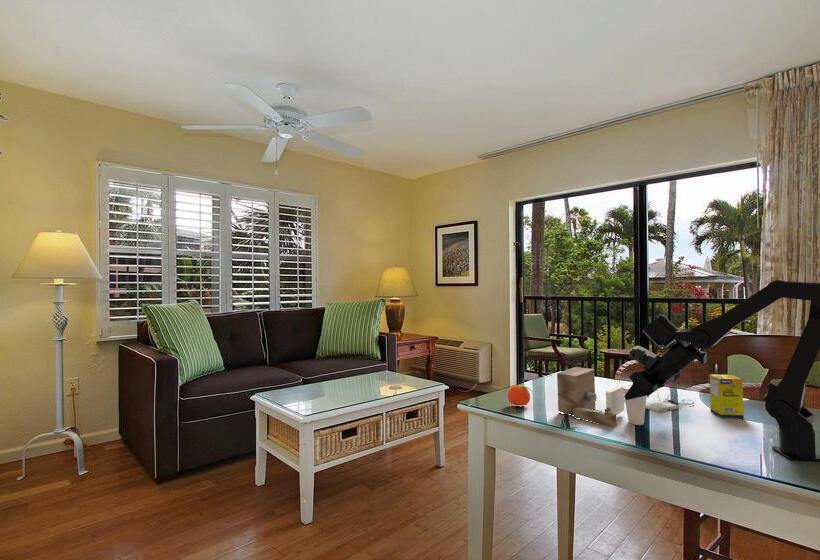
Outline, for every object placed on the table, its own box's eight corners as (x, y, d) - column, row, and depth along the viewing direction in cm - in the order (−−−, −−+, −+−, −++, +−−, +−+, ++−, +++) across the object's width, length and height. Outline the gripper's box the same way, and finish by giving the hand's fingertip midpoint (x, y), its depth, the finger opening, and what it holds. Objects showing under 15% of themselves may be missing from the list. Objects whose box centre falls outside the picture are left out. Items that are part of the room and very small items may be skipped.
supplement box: (744, 418, 119) (743, 378, 119) (720, 417, 121) (719, 378, 121) (733, 411, 125) (731, 374, 125) (710, 411, 126) (708, 374, 126)
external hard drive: (643, 400, 141) (678, 410, 130) (624, 403, 138) (658, 413, 127) (643, 395, 141) (678, 404, 130) (624, 398, 138) (658, 408, 127)
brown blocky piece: (631, 415, 124) (630, 373, 125) (613, 427, 115) (612, 382, 115) (576, 404, 136) (575, 367, 136) (555, 414, 127) (554, 374, 127)
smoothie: (625, 425, 116) (623, 373, 116) (621, 418, 122) (619, 369, 122) (652, 427, 114) (650, 374, 114) (646, 419, 120) (644, 369, 120)
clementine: (536, 405, 137) (535, 383, 137) (530, 411, 131) (529, 388, 131) (511, 402, 141) (511, 381, 141) (505, 408, 135) (504, 385, 135)
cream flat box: (624, 410, 124) (623, 386, 125) (608, 419, 117) (607, 394, 117) (618, 409, 126) (618, 385, 126) (603, 418, 118) (602, 393, 118)
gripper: (659, 333, 122) (620, 367, 130) (636, 341, 109) (594, 378, 117) (693, 364, 116) (649, 398, 124) (672, 376, 103) (625, 413, 111)
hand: (629, 396), depth 119 cm, fingers closed on smoothie, 6 cm apart
